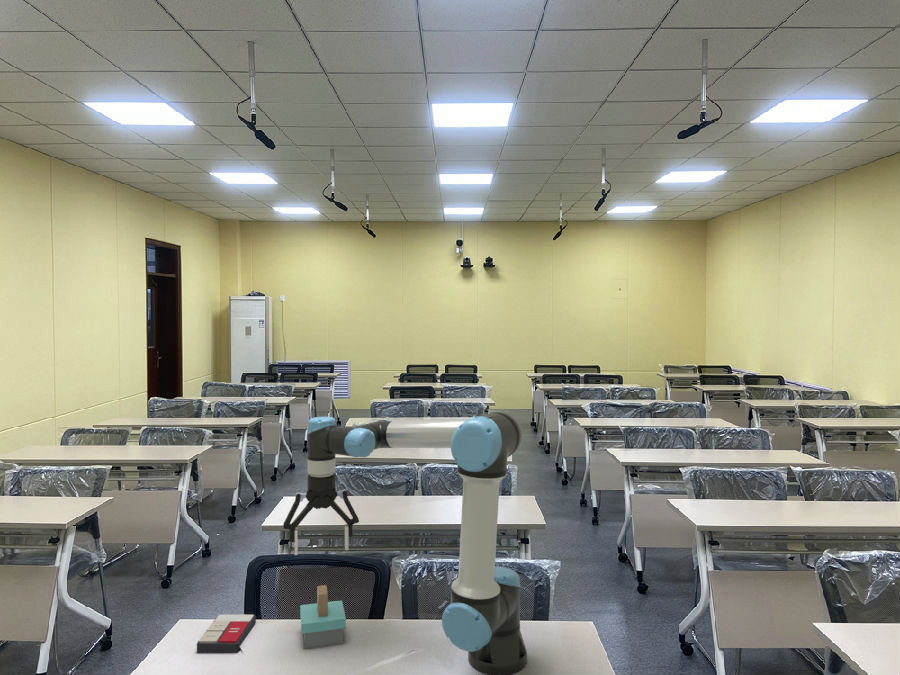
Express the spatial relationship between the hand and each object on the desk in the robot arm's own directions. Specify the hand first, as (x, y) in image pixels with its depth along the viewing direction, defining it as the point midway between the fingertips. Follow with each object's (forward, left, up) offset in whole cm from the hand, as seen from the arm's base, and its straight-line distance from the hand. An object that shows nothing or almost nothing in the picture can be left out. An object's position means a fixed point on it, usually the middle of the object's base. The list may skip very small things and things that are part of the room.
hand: (321, 551), depth 165 cm
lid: (0, 0, -19) cm, 19 cm away
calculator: (+8, +25, -25) cm, 37 cm away
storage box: (0, 0, -25) cm, 25 cm away
